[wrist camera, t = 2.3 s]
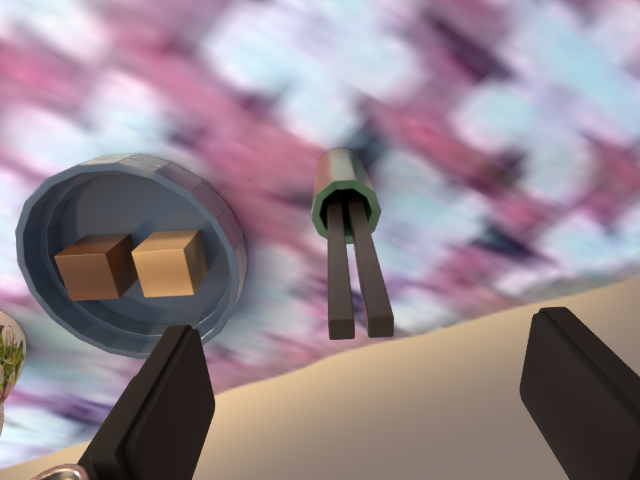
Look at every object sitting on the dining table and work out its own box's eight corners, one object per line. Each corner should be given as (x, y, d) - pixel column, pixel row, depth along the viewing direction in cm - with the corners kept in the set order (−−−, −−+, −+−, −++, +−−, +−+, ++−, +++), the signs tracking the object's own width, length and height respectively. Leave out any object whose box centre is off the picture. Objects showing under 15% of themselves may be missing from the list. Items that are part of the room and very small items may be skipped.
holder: (313, 149, 30) (307, 182, 21) (364, 145, 30) (381, 178, 20) (317, 195, 31) (312, 246, 22) (365, 192, 31) (381, 242, 22)
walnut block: (84, 235, 32) (53, 256, 29) (130, 233, 32) (105, 253, 28) (98, 276, 34) (71, 301, 30) (142, 274, 34) (119, 298, 30)
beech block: (153, 231, 32) (131, 252, 28) (199, 229, 32) (183, 249, 28) (164, 273, 34) (144, 297, 30) (208, 270, 34) (194, 295, 30)
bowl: (19, 159, 30) (-23, 171, 27) (231, 145, 30) (217, 155, 26) (86, 334, 37) (60, 362, 34) (259, 326, 37) (252, 354, 33)
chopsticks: (327, 168, 30) (327, 319, 11) (352, 167, 30) (394, 316, 11) (327, 178, 30) (329, 340, 12) (353, 177, 30) (394, 338, 12)
